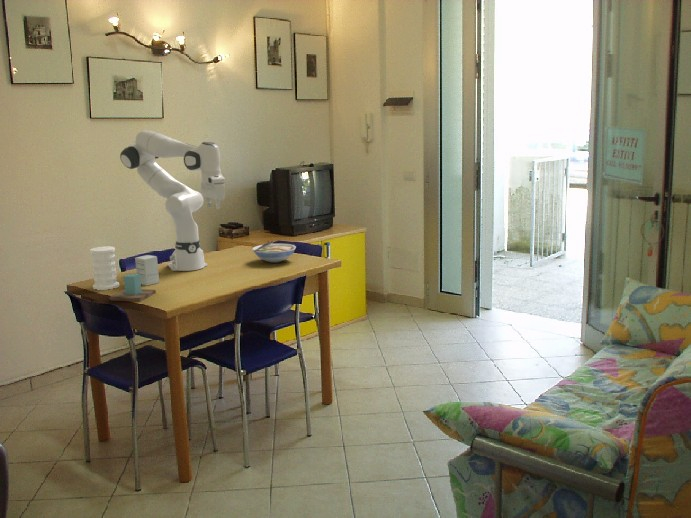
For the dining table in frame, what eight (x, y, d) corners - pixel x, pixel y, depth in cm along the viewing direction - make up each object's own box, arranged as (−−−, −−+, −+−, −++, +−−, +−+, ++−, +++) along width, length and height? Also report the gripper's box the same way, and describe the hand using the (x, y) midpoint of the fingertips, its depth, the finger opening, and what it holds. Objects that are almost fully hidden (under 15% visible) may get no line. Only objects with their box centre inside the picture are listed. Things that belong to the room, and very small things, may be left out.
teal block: (131, 291, 305) (129, 273, 303) (141, 291, 304) (140, 274, 302) (125, 294, 300) (123, 276, 298) (135, 294, 299) (133, 276, 297)
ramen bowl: (287, 267, 351) (286, 251, 349) (245, 265, 357) (244, 250, 355) (303, 257, 375) (302, 242, 373) (263, 255, 380) (262, 241, 379)
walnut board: (126, 291, 310) (126, 288, 310) (155, 293, 307) (155, 289, 307) (109, 300, 297) (109, 296, 296) (139, 301, 294) (139, 298, 293)
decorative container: (121, 283, 326) (117, 245, 322) (117, 289, 315) (113, 250, 311) (95, 284, 325) (91, 246, 321) (90, 290, 313) (86, 251, 310)
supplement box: (150, 280, 330) (148, 254, 328) (159, 282, 326) (157, 256, 323) (136, 283, 325) (134, 257, 322) (146, 285, 320) (143, 259, 317)
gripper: (196, 177, 326) (198, 206, 329) (213, 180, 309) (215, 210, 312) (209, 176, 329) (211, 205, 332) (226, 179, 312) (228, 209, 315)
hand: (213, 208), depth 322 cm, fingers open, 8 cm apart
